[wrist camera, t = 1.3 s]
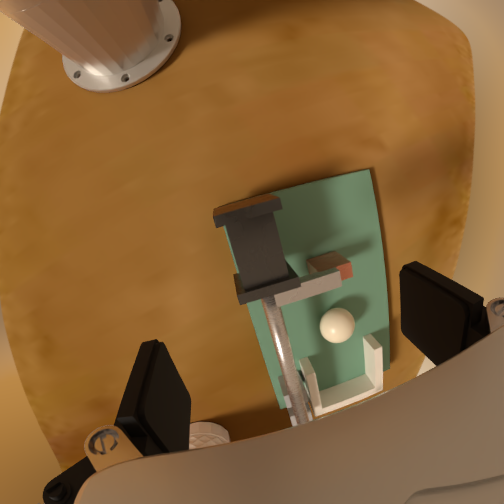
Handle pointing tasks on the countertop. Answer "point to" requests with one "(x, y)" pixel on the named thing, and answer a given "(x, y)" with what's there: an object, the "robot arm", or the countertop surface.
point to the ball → (337, 325)
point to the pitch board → (347, 296)
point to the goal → (349, 389)
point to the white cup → (207, 435)
